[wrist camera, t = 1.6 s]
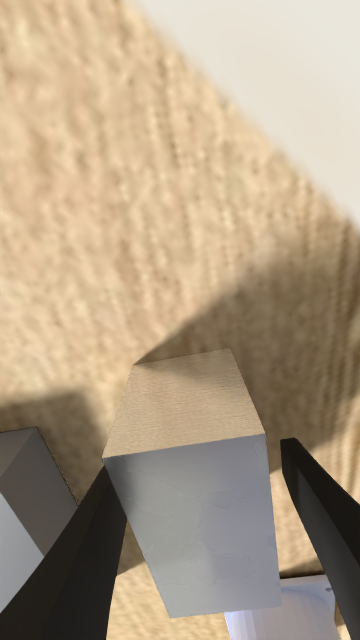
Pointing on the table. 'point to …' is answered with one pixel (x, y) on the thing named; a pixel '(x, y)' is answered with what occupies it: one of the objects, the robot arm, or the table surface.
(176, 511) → the block
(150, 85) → the table surface
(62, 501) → the stand
